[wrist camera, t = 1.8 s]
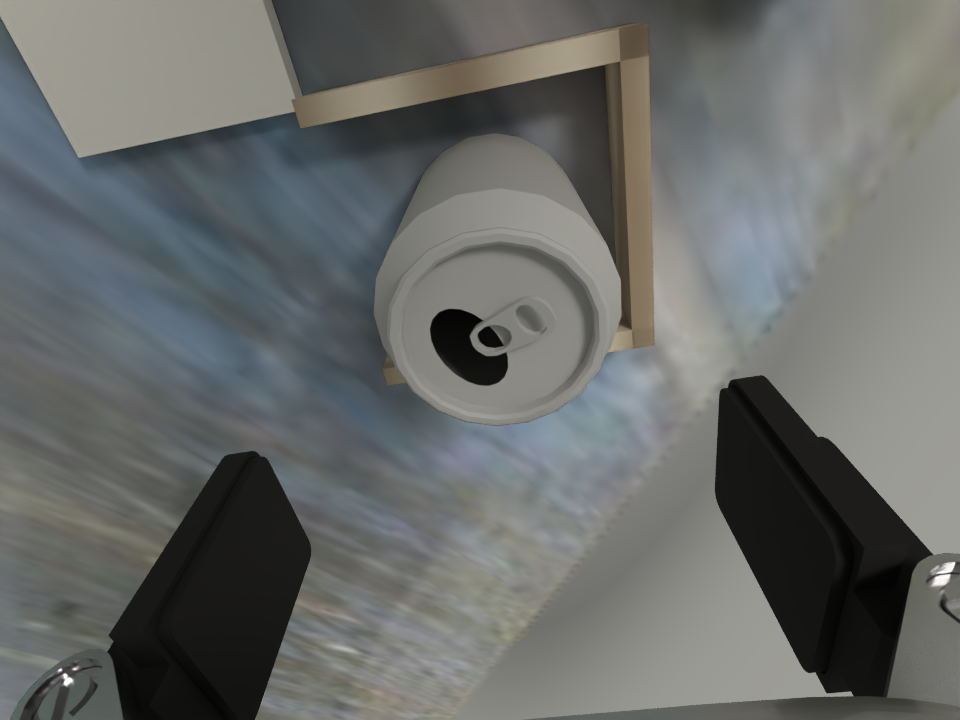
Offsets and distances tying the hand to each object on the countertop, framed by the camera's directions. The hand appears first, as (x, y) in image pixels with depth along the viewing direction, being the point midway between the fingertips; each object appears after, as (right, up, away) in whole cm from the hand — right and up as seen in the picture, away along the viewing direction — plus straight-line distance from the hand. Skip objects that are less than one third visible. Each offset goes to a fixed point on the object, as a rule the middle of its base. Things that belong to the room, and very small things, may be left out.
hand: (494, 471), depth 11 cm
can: (0, +9, +14) cm, 17 cm away
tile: (-14, +16, +9) cm, 23 cm away
